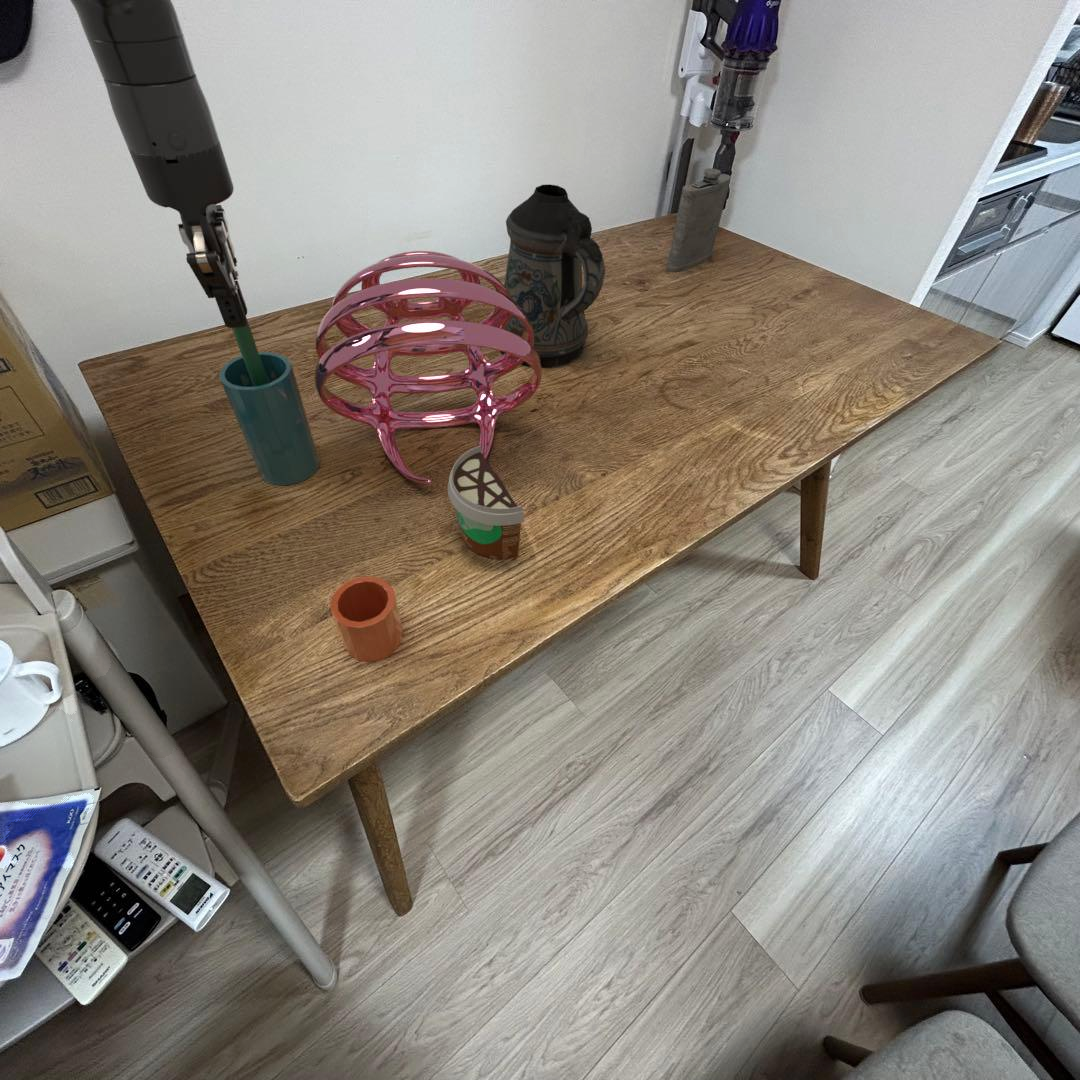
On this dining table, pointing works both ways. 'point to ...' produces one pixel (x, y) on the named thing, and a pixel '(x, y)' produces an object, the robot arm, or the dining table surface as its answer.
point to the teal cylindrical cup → (272, 419)
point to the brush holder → (367, 618)
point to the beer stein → (552, 273)
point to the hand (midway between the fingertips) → (237, 320)
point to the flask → (698, 220)
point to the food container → (484, 508)
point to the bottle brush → (250, 355)
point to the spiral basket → (424, 348)
